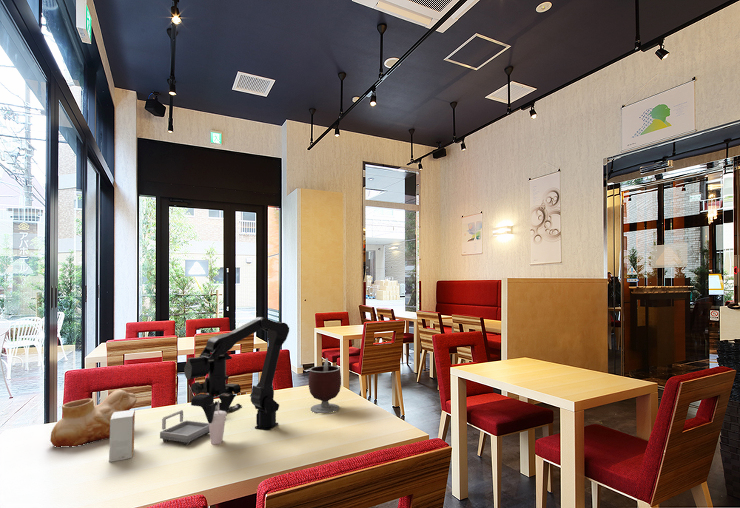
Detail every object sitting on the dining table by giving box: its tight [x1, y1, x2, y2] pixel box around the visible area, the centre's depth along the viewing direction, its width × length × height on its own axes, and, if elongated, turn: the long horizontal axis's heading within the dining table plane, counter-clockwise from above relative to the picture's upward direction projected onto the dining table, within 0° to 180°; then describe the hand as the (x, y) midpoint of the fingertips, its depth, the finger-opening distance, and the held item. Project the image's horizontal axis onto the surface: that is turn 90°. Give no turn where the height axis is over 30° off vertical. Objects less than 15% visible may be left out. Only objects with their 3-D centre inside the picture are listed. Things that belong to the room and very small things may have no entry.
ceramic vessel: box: [49, 388, 138, 448], centre depth 148 cm, size 14×26×15 cm, turn 137°
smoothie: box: [209, 400, 228, 445], centre depth 141 cm, size 6×6×14 cm
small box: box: [108, 409, 136, 463], centre depth 131 cm, size 8×6×13 cm
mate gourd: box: [308, 357, 342, 414], centre depth 176 cm, size 16×14×20 cm
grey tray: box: [159, 409, 210, 446], centre depth 145 cm, size 13×12×8 cm
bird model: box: [206, 375, 243, 411], centre depth 172 cm, size 20×14×15 cm
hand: (216, 419), depth 141 cm, fingers closed on smoothie, 6 cm apart
